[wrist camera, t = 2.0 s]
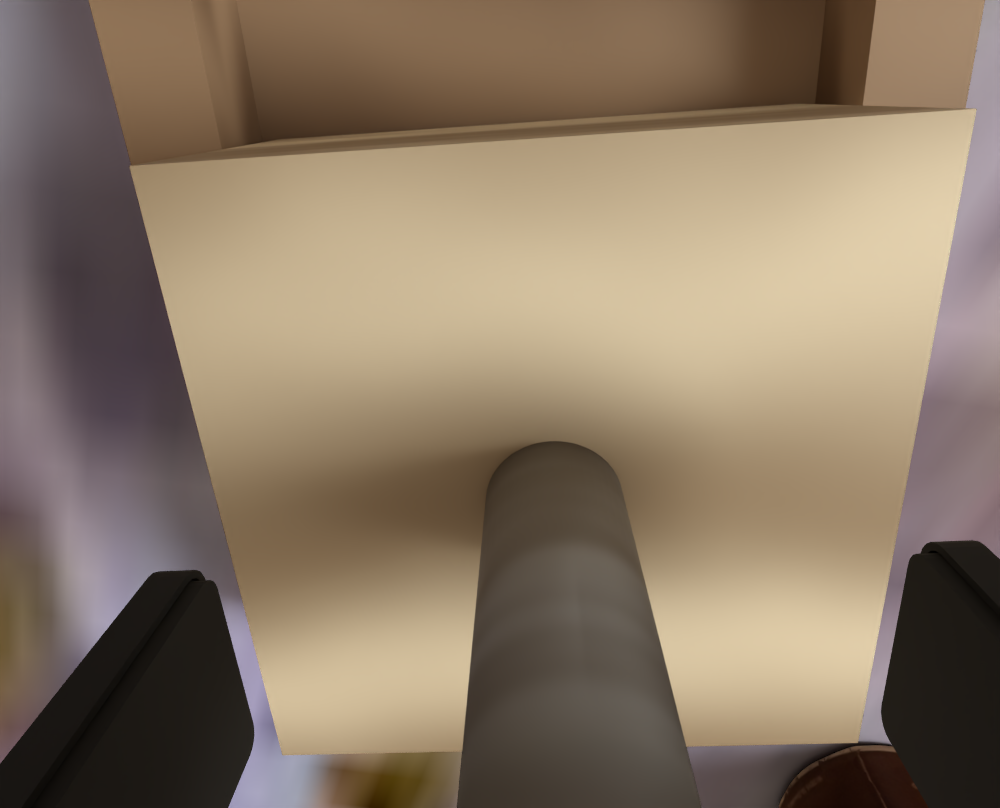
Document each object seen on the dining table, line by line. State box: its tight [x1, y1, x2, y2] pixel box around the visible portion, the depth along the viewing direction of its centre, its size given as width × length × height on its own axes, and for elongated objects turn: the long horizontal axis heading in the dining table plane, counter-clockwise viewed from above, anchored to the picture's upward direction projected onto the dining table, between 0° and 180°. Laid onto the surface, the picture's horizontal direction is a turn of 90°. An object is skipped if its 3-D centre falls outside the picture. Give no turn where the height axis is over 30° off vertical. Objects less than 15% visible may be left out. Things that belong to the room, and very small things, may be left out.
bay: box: [89, 0, 985, 166], centre depth 16 cm, size 26×17×3 cm, turn 4°
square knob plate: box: [129, 104, 977, 808], centre depth 13 cm, size 12×12×13 cm
